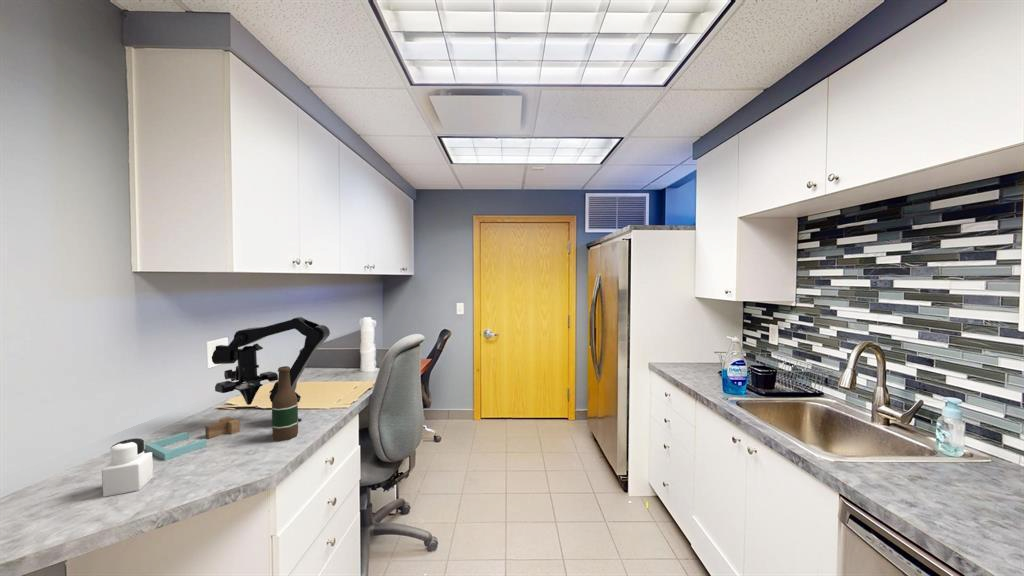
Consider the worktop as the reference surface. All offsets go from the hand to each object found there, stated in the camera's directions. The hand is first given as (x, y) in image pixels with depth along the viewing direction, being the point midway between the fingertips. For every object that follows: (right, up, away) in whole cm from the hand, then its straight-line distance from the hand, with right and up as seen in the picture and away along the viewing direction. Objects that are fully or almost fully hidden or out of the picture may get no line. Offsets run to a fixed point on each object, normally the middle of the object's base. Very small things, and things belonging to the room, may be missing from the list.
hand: (249, 404), depth 137 cm
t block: (-4, -8, -8) cm, 12 cm away
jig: (-10, -8, -18) cm, 22 cm away
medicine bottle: (-3, -9, -40) cm, 41 cm away
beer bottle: (+20, -8, -11) cm, 24 cm away
